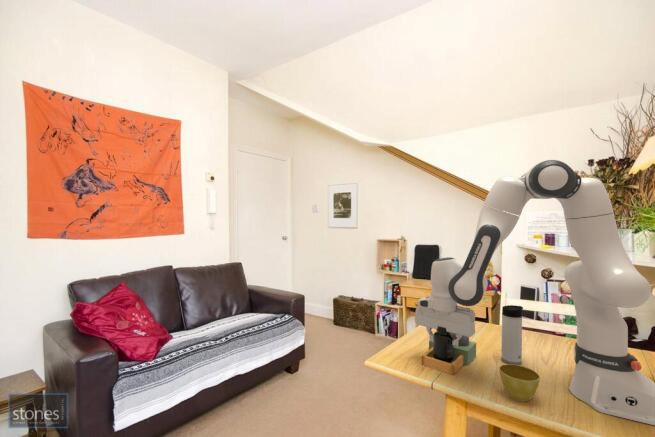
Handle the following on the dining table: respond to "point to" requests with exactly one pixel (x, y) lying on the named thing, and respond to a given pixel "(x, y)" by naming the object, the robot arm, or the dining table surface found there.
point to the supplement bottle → (443, 345)
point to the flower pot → (519, 381)
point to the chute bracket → (441, 363)
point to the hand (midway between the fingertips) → (443, 342)
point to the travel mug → (512, 334)
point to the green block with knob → (462, 349)
